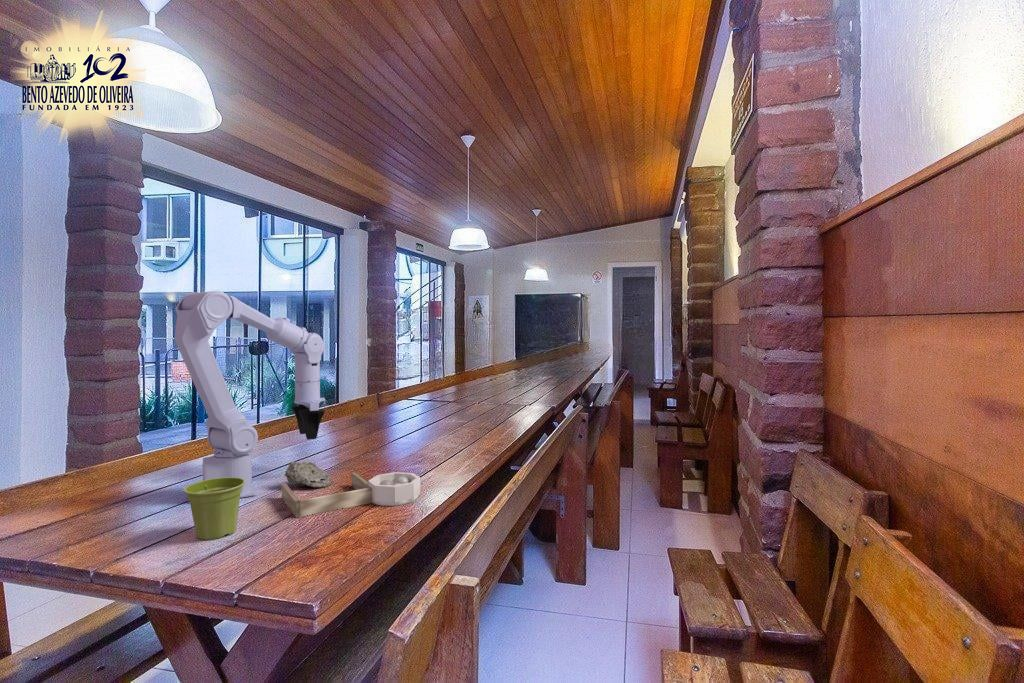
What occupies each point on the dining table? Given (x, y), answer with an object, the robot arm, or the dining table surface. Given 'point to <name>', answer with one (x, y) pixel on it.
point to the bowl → (394, 489)
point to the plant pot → (215, 506)
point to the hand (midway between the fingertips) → (308, 436)
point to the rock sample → (307, 475)
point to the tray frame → (329, 499)
